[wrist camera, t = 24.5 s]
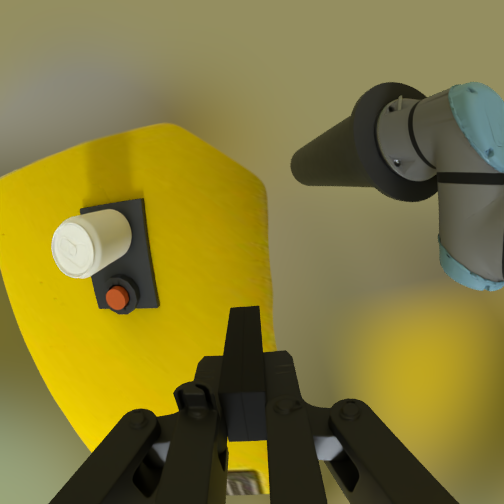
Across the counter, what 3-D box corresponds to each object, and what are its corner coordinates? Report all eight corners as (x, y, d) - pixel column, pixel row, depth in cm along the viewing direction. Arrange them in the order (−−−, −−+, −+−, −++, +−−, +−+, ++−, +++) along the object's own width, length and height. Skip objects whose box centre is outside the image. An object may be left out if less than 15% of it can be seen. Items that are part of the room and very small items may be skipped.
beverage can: (124, 266, 42) (89, 292, 30) (86, 245, 41) (44, 264, 29) (140, 220, 40) (104, 234, 28) (99, 201, 39) (56, 208, 27)
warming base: (83, 208, 40) (74, 210, 37) (143, 198, 40) (136, 199, 38) (102, 307, 45) (94, 314, 42) (160, 306, 45) (155, 314, 42)
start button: (108, 285, 41) (103, 289, 39) (126, 285, 41) (122, 288, 39) (113, 305, 42) (108, 310, 40) (131, 305, 42) (127, 309, 40)
